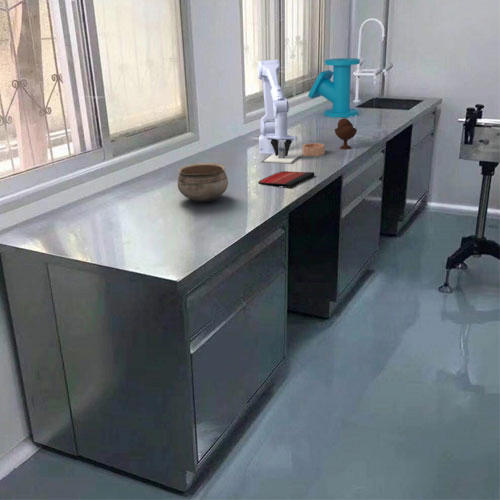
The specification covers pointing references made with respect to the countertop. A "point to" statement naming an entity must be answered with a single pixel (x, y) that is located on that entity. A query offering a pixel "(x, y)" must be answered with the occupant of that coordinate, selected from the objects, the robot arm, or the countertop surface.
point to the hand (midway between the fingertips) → (281, 155)
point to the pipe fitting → (336, 87)
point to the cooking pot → (202, 181)
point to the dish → (313, 149)
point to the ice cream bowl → (345, 132)
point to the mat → (282, 163)
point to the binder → (286, 179)
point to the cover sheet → (281, 158)
